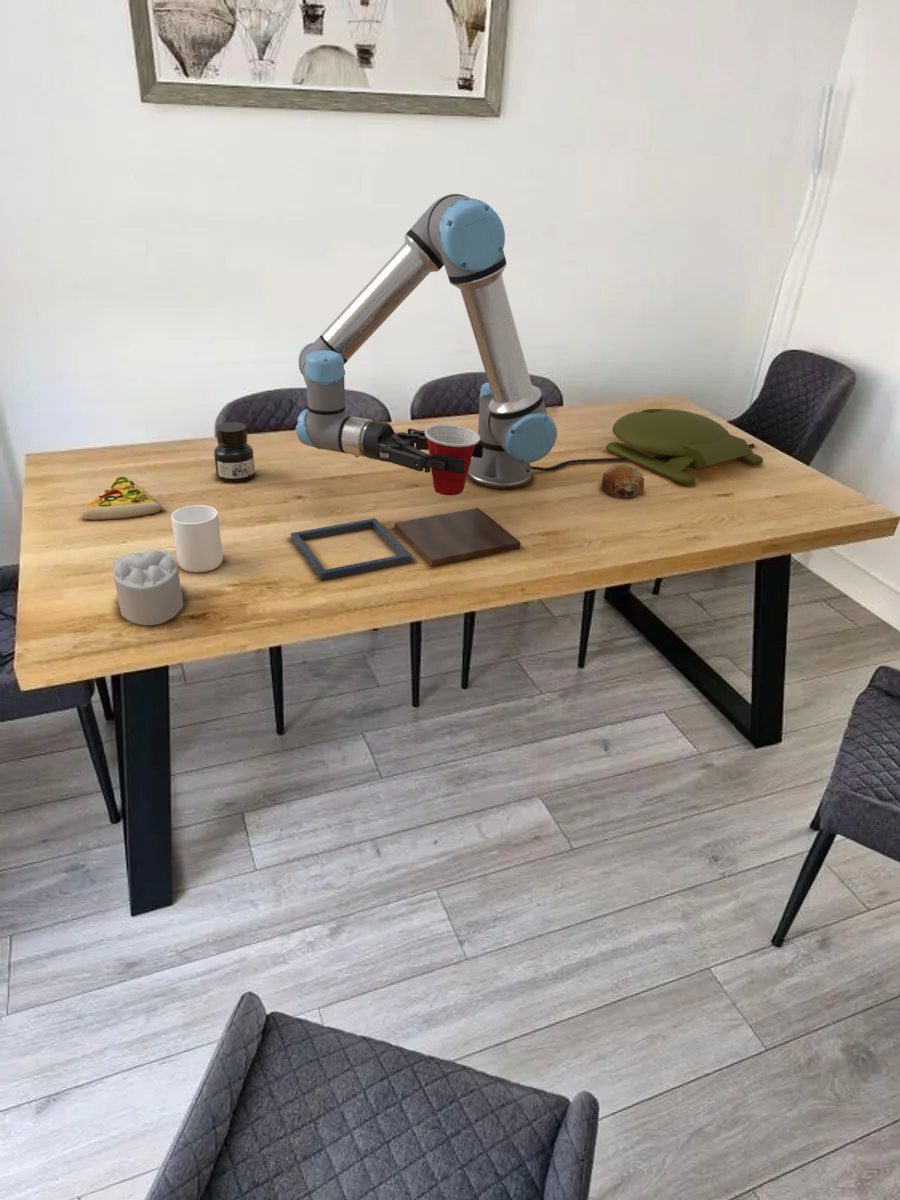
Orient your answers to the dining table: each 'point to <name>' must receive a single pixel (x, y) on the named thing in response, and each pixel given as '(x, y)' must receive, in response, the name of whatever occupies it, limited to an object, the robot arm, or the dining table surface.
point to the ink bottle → (233, 453)
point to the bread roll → (622, 481)
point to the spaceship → (677, 442)
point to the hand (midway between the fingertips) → (473, 458)
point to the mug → (197, 538)
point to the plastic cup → (451, 454)
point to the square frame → (353, 568)
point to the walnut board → (456, 536)
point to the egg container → (148, 587)
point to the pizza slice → (121, 502)
